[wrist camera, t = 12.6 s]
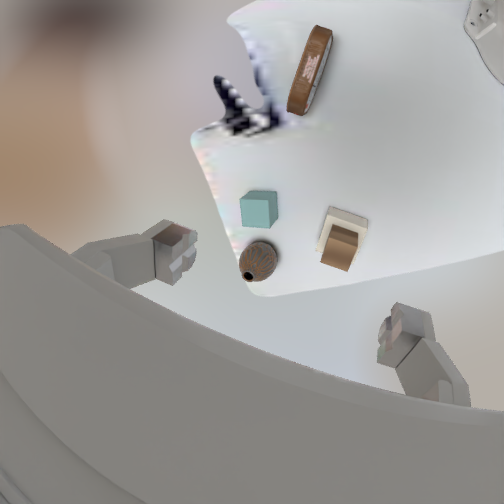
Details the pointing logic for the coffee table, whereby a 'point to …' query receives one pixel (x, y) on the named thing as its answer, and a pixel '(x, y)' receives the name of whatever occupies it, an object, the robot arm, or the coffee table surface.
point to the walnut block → (340, 248)
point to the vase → (257, 262)
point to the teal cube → (259, 209)
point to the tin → (309, 70)
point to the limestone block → (346, 222)
